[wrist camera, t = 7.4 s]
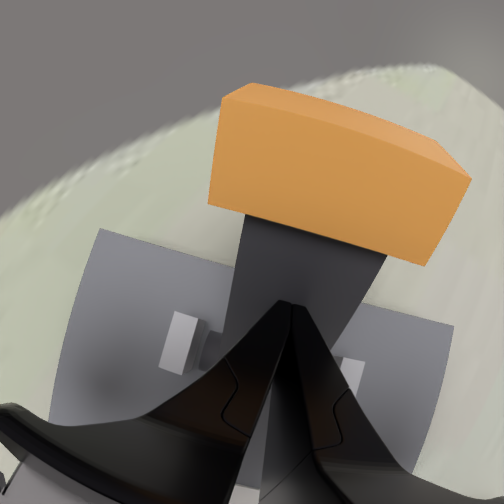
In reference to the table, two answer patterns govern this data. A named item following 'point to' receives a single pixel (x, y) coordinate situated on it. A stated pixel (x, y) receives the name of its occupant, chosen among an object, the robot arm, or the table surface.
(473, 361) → the table surface
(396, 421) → the panel
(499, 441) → the table surface
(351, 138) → the lever
